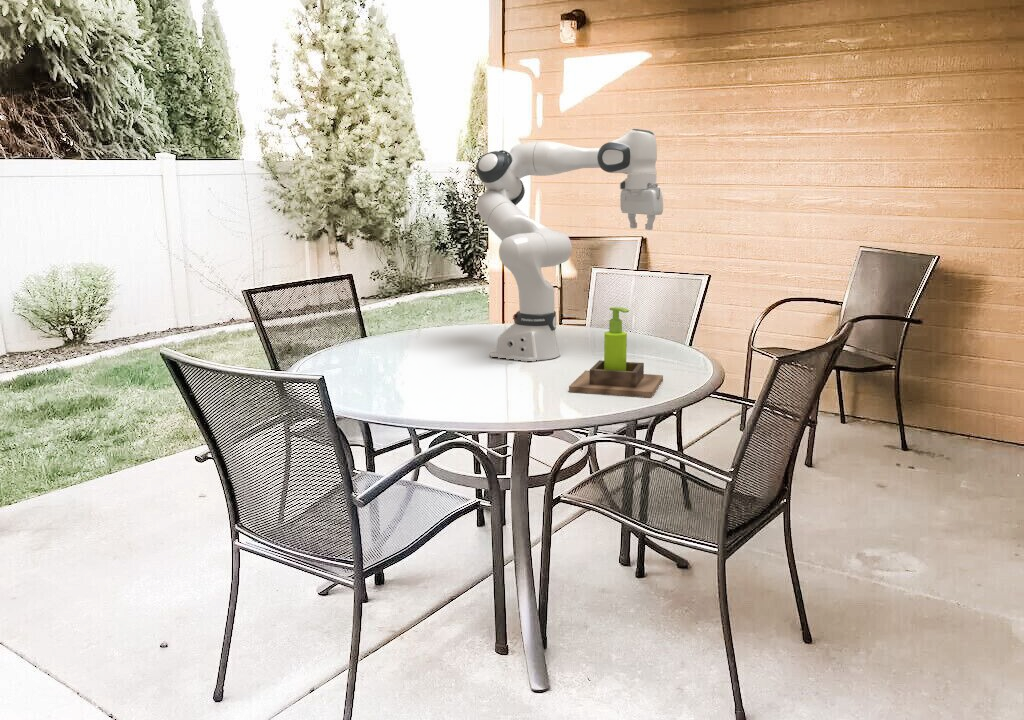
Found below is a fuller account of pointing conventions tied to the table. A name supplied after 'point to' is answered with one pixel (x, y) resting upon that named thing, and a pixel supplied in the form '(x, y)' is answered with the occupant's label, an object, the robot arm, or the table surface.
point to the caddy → (617, 381)
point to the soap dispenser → (615, 343)
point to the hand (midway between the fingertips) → (641, 229)
